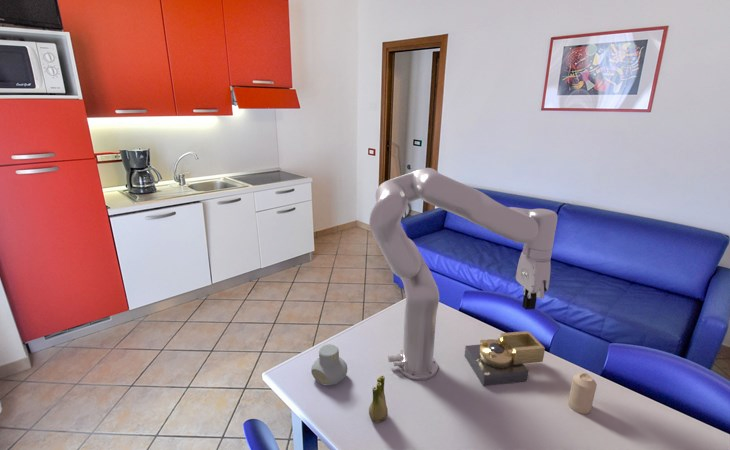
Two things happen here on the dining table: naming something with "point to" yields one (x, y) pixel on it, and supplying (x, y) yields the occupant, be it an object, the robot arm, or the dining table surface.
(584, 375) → the candle
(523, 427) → the dining table surface
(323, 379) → the air freshener
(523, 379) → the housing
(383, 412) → the fennel bulb
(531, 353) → the brass mechanical fitting
